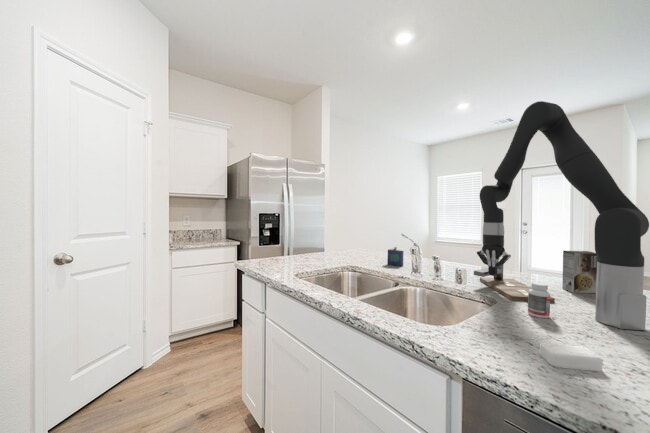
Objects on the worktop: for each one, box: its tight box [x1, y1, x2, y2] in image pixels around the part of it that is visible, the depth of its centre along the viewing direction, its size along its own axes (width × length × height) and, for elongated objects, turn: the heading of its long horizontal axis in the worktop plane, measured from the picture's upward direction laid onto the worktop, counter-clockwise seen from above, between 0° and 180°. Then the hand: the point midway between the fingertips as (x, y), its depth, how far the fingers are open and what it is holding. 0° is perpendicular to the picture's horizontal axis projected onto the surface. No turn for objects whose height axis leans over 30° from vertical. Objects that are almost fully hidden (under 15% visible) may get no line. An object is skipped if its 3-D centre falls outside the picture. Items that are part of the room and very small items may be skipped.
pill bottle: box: [527, 281, 551, 319], centre depth 85 cm, size 5×5×10 cm
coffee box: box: [561, 250, 598, 294], centre depth 112 cm, size 9×6×16 cm
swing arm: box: [473, 264, 504, 280], centre depth 120 cm, size 19×4×7 cm, turn 123°
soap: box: [539, 342, 604, 372], centre depth 59 cm, size 9×6×3 cm, turn 79°
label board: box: [479, 277, 556, 304], centre depth 112 cm, size 28×14×2 cm, turn 172°
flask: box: [386, 246, 404, 267], centre depth 161 cm, size 9×3×11 cm, turn 61°
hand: (492, 275), depth 114 cm, fingers closed
